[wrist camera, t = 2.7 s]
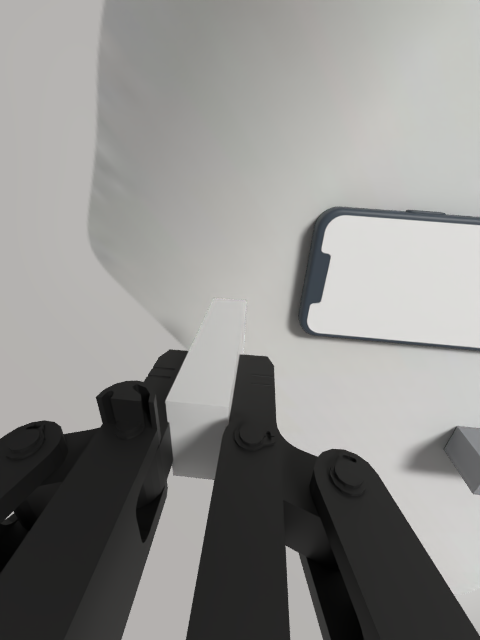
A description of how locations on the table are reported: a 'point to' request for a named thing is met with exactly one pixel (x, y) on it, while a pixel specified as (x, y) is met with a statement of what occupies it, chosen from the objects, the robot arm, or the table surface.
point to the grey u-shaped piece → (466, 455)
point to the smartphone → (394, 278)
